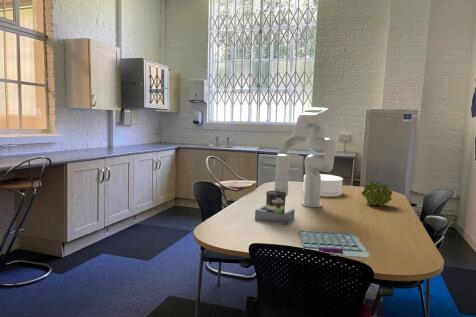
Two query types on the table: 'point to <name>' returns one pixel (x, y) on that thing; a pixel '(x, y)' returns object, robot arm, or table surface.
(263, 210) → the can holder bay
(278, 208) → the coffee can
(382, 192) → the green bumpy round lump
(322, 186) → the plate stack
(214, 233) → the table surface
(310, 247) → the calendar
